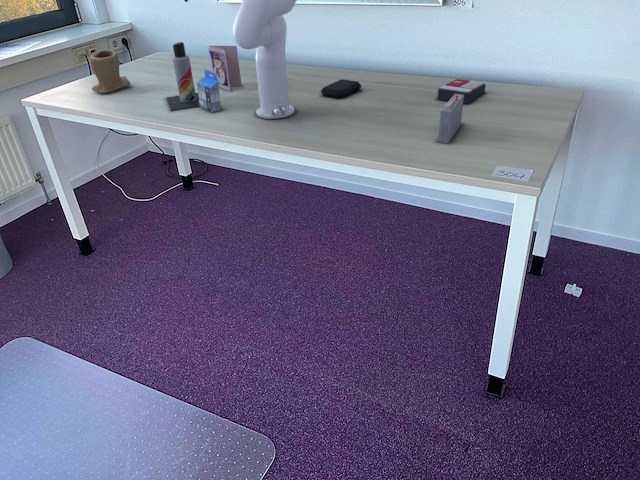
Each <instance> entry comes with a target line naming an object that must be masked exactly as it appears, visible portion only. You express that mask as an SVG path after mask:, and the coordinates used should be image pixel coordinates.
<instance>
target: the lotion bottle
mask: <svg viewBox="0 0 640 480" xmlns="http://www.w3.org/2000/svg"><path fill="white" fill-rule="evenodd" d="M172 49H173V54H174V56H173V57H172V64H173V70H174V75H175V80H176V86H177V90H178V96H180V101H181V102H183V103H189V102H193V101H195V100H196V94H195V93H196V88H195V82H194V78H193V71H192V66H191V65H192V64H191V61H190V57H189V55H187V54H186V48H185V43H184V42H182V41H179V42H175V43H173V44H172Z"/></svg>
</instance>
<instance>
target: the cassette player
mask: <svg viewBox="0 0 640 480" xmlns="http://www.w3.org/2000/svg"><path fill="white" fill-rule="evenodd" d="M463 99H464V95H461V94H454V95H453V97H452V98H451V99H450V100H449V101H447V102H446V103H445V105H444V106H443V107H442V109H440V114H439V115H440V116H439V128H438V129H439V130H438V138H437V139H438V141H437V142H438V143H444V144H449V143H450V141H451V139H452V138H453V137H454V135H455V134H456V132H457V131H458V130H459V128H460V126H461V125H462V120H463V119H462V117H463V110H464V109H463V108H464V103H463Z"/></svg>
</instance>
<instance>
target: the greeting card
mask: <svg viewBox="0 0 640 480" xmlns="http://www.w3.org/2000/svg"><path fill="white" fill-rule="evenodd" d="M207 47H208V54H209V60H210V67H211V72H213V73H215V74H216V75H217V79H218V85H219V89H222V90H223V89H224V90H226V91H229V92H231V87H242V86H243V85H242V78H241V69H240V62H239V61H240V60H239V55H238V53H239V52H238V45H207Z"/></svg>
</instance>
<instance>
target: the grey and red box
mask: <svg viewBox="0 0 640 480" xmlns="http://www.w3.org/2000/svg"><path fill="white" fill-rule="evenodd" d="M486 86H487V84H486V83H485V82H483V81H476V80H469V79H461V78H456V79H454V80H452V81H450V82H448V83H446V84H445V85H443V86H440V87H439V88H438V89H437V100H441V101H446V102H448V101H449V100H450V99H451V98H452V97H453V95H454V94H461V95H464V99H463V104H465V105H466V104H467V105H468V104H471V103H472V102H473V100H475V98H477V97H480V96H481V95H483V94H485V92H486Z"/></svg>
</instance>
